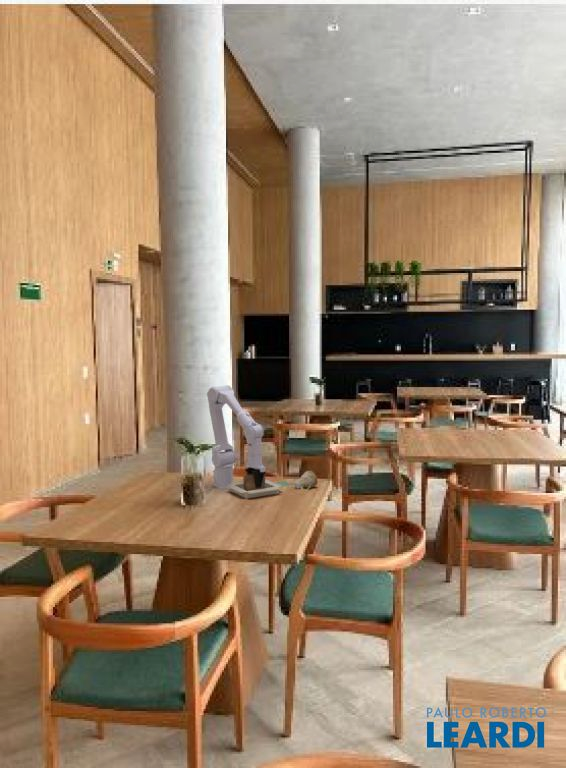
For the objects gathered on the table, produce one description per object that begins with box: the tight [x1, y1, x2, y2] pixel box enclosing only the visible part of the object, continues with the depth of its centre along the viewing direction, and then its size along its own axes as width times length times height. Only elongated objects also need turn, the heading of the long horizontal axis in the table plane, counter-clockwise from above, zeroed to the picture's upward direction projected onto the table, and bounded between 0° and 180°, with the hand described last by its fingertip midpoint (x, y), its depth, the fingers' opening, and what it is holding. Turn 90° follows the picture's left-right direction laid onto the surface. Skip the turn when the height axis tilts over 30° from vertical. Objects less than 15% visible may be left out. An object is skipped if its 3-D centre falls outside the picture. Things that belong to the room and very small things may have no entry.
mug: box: [293, 470, 319, 491], centre depth 258 cm, size 8×10×10 cm
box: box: [242, 473, 266, 491], centre depth 251 cm, size 4×8×7 cm, turn 119°
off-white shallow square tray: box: [226, 479, 284, 500], centre depth 251 cm, size 21×19×3 cm
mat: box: [275, 480, 295, 487], centre depth 264 cm, size 8×8×1 cm
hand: (255, 486), depth 251 cm, fingers closed on box, 4 cm apart
